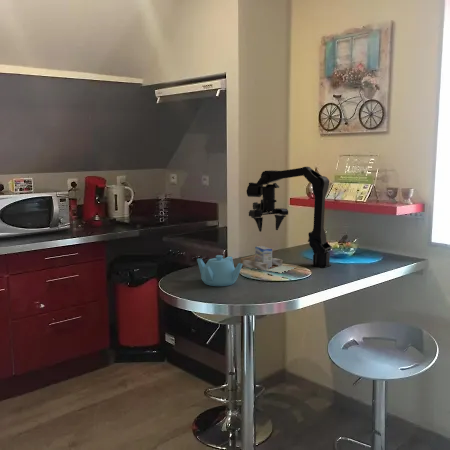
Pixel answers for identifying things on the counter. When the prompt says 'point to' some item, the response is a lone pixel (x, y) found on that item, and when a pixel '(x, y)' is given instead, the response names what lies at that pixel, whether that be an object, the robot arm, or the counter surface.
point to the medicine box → (263, 255)
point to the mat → (281, 269)
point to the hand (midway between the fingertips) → (268, 230)
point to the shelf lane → (259, 263)
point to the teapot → (219, 271)
